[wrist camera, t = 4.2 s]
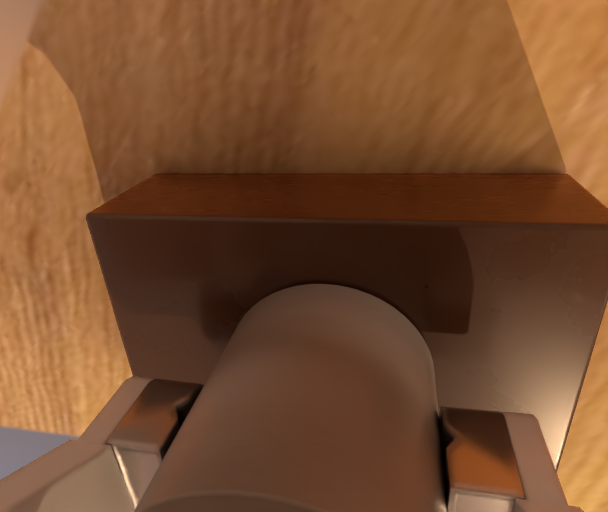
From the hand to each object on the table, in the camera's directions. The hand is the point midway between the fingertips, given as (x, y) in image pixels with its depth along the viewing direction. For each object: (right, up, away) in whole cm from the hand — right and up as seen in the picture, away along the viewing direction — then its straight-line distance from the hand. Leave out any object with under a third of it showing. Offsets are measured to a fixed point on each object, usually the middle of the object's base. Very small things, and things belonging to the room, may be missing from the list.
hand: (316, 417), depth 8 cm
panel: (+1, +2, +4) cm, 4 cm away
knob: (0, +1, +1) cm, 1 cm away
